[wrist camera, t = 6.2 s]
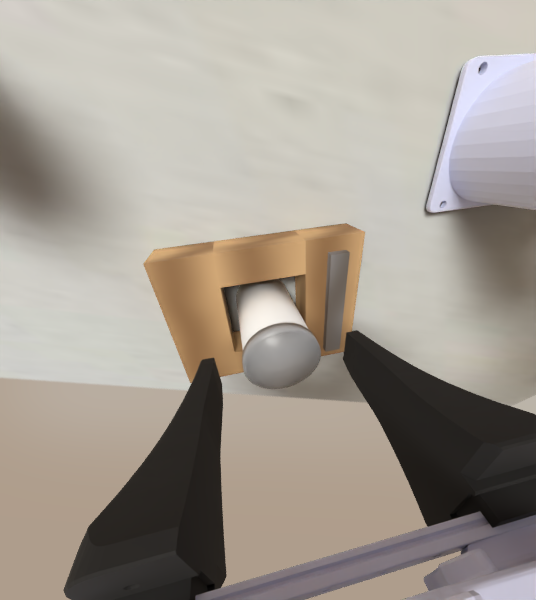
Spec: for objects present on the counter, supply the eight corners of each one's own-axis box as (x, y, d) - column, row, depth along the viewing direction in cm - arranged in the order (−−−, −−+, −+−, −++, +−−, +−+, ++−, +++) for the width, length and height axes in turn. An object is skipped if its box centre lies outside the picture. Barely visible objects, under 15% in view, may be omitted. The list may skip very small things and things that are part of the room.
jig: (345, 223, 16) (369, 234, 14) (336, 332, 21) (352, 354, 19) (154, 249, 15) (140, 267, 12) (193, 359, 20) (189, 388, 17)
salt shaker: (285, 267, 17) (320, 321, 11) (289, 313, 19) (321, 378, 13) (229, 278, 17) (235, 340, 11) (240, 323, 19) (250, 396, 13)
